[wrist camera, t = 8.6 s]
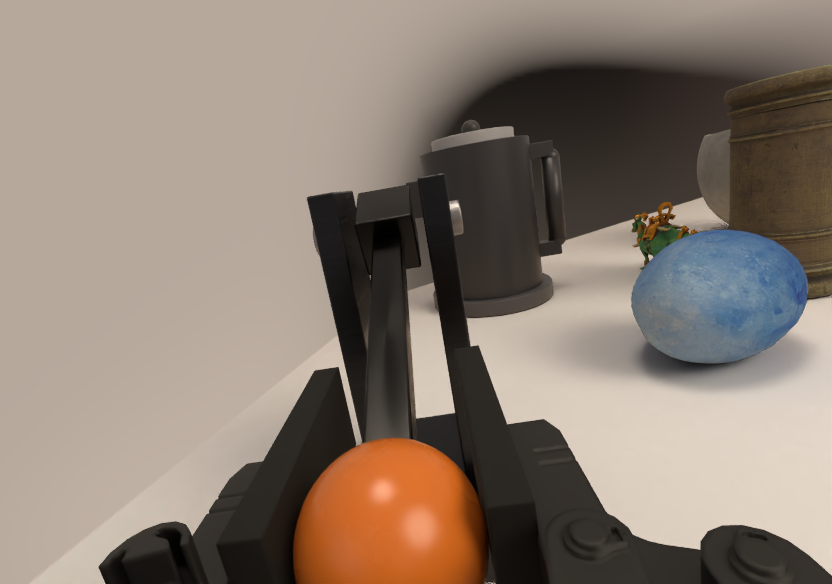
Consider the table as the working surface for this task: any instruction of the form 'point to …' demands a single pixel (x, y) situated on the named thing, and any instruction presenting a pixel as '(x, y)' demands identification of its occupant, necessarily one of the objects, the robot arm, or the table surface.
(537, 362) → the table surface
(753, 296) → the egg
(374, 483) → the switch
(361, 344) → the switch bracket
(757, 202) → the container
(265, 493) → the robot arm
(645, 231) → the figurine
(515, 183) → the kettle
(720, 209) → the bowl
